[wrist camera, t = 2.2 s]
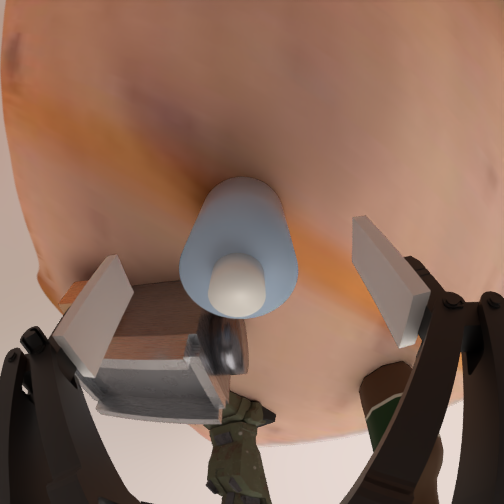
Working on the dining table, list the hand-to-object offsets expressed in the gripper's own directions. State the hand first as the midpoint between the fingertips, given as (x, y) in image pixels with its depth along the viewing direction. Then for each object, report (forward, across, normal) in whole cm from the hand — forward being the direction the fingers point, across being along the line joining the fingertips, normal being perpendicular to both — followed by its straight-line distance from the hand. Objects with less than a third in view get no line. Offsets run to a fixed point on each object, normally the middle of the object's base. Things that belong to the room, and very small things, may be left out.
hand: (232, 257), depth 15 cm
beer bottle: (+5, +14, -24) cm, 28 cm away
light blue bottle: (+5, 0, 0) cm, 5 cm away
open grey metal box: (+5, -8, -8) cm, 13 cm away
